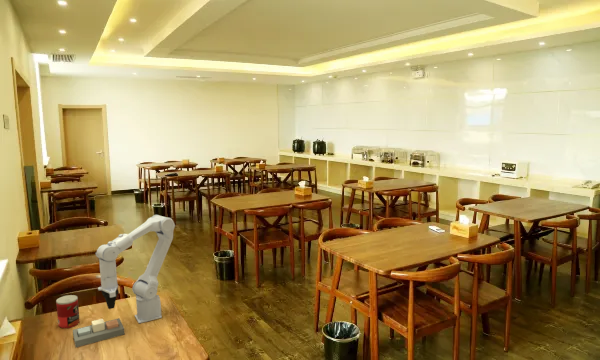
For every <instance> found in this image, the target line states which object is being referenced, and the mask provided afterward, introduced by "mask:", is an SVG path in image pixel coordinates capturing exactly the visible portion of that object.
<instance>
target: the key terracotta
mask: <svg viewBox="0 0 600 360" xmlns="http://www.w3.org/2000/svg"><path fill="white" fill-rule="evenodd" d="M112 320H113V321H110V320H108V321H109V322H106V321H105V322H106V328H107V330H108V329H112V328H115V327H119V324H118V321H117V320H114V319H112Z"/></svg>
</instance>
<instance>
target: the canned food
mask: <svg viewBox="0 0 600 360" xmlns="http://www.w3.org/2000/svg"><path fill="white" fill-rule="evenodd" d="M55 303H56V304H55V305H56V313H57V316H56V317H57V324H58V327H59V328H62V329H70V328H73V327H76V326H77V325H78V324H79V323H80V320H81V319H80V308H79V306H80V305H79V297H78V295H74V294H73V295H72V294H70V295H69V294H68V295H63V296H61V297H59V298H57V299H56V300H55Z"/></svg>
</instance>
